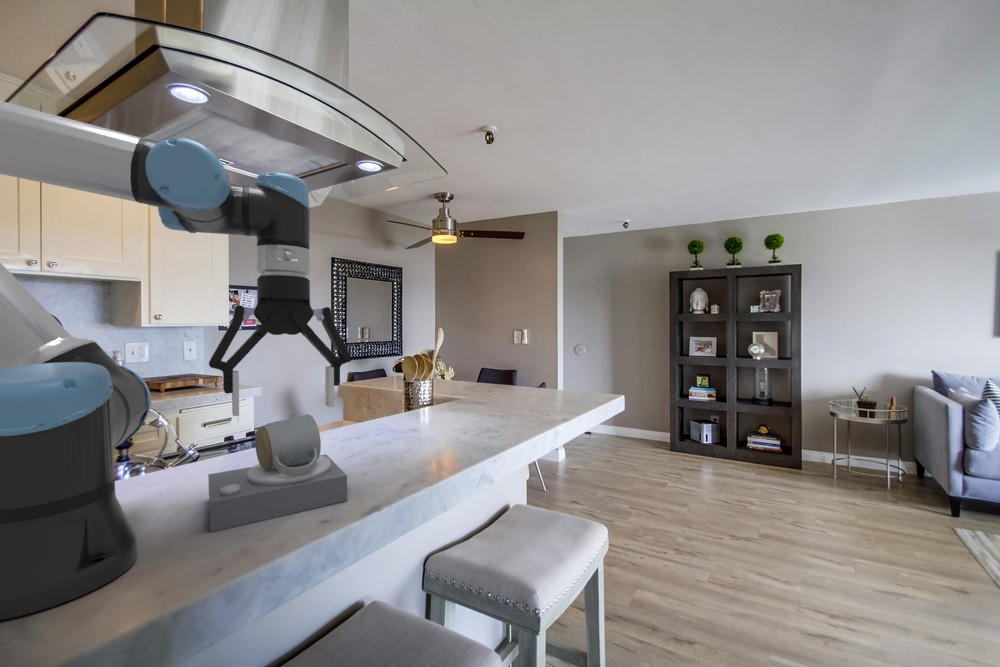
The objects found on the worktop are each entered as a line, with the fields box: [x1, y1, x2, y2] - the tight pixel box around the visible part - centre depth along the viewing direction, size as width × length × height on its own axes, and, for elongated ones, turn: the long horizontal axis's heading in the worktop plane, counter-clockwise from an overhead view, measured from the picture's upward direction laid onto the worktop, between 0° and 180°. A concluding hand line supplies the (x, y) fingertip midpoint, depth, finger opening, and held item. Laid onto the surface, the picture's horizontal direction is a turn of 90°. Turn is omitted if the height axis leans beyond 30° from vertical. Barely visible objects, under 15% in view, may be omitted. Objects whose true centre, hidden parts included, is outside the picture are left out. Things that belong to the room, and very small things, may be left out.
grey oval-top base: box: [207, 453, 349, 533], centre depth 71 cm, size 18×14×5 cm
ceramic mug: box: [254, 413, 322, 476], centre depth 71 cm, size 11×8×8 cm
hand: (285, 410), depth 72 cm, fingers open, 13 cm apart
